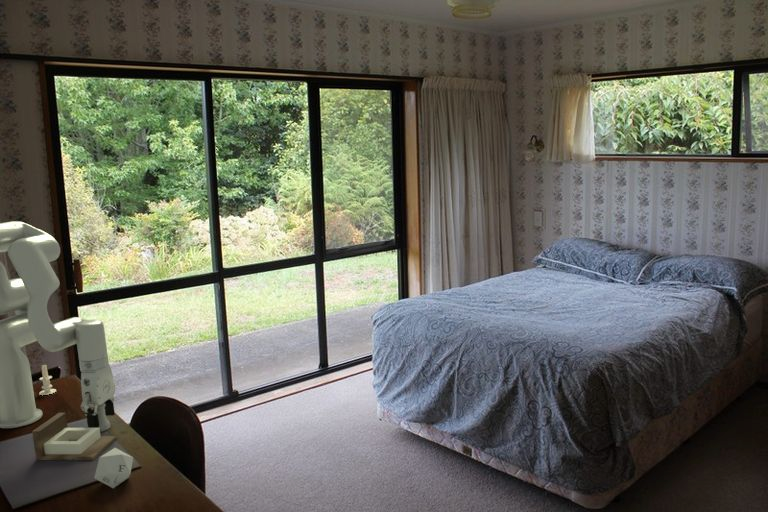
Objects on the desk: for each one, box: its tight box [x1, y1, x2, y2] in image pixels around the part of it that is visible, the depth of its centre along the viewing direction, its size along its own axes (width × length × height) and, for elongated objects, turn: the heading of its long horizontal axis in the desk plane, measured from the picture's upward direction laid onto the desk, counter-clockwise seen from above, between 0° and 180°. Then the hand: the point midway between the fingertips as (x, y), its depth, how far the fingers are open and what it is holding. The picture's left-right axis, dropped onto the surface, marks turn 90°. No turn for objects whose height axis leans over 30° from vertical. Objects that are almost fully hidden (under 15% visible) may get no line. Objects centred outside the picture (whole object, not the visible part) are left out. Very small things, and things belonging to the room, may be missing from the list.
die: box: [93, 447, 134, 489], centre depth 159 cm, size 8×9×10 cm
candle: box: [38, 364, 57, 397], centre depth 221 cm, size 5×5×10 cm
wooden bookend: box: [31, 412, 118, 461], centre depth 178 cm, size 16×12×8 cm
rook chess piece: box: [96, 403, 112, 433], centre depth 190 cm, size 4×4×8 cm
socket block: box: [44, 427, 101, 454], centre depth 178 cm, size 10×10×3 cm
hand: (101, 420), depth 191 cm, fingers open, 7 cm apart
